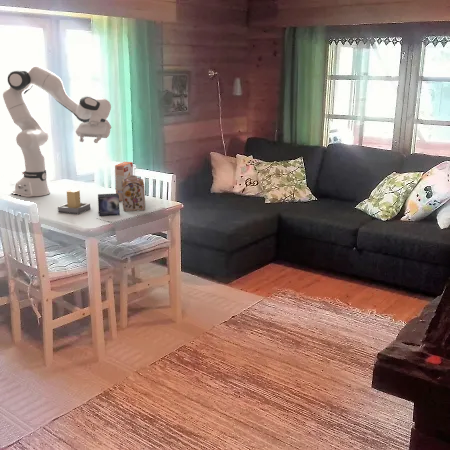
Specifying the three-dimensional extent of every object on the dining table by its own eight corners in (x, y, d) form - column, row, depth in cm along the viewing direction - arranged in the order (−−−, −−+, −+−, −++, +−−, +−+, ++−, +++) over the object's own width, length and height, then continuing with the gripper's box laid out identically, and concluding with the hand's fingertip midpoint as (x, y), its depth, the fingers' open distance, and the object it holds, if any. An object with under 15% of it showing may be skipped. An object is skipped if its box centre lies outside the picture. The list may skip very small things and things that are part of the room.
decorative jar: (122, 206, 300) (121, 174, 295) (143, 205, 303) (142, 173, 298) (123, 211, 289) (122, 178, 284) (145, 210, 292) (144, 177, 287)
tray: (58, 212, 286) (57, 206, 285) (71, 207, 297) (70, 201, 296) (77, 214, 282) (77, 208, 282) (90, 209, 293) (90, 203, 292)
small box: (99, 216, 279) (98, 196, 276) (98, 213, 285) (97, 194, 282) (120, 215, 282) (119, 195, 279) (118, 212, 288) (117, 193, 285)
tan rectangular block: (67, 209, 288) (66, 191, 285) (72, 207, 292) (71, 189, 289) (76, 210, 287) (74, 192, 284) (80, 208, 291) (79, 190, 288)
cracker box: (125, 201, 310) (124, 165, 304) (115, 201, 311) (114, 165, 305) (134, 196, 323) (133, 161, 317) (124, 195, 324) (123, 161, 318)
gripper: (78, 118, 315) (70, 137, 309) (109, 120, 309) (101, 139, 303) (83, 125, 320) (75, 144, 314) (114, 127, 314) (105, 146, 308)
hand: (88, 141), depth 308 cm, fingers open, 8 cm apart
